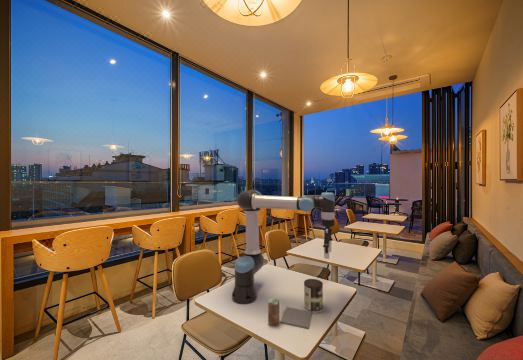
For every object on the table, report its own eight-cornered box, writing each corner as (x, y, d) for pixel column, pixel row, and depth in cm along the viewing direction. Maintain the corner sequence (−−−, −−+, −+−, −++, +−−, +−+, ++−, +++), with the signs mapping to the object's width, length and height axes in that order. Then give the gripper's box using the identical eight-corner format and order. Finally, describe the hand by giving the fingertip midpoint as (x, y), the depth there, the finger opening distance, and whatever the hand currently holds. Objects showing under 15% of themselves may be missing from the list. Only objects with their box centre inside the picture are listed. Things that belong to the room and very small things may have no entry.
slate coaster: (280, 323, 115) (280, 321, 115) (286, 308, 128) (286, 306, 128) (308, 329, 111) (308, 327, 111) (312, 313, 124) (312, 311, 124)
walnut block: (268, 324, 114) (268, 302, 114) (270, 319, 118) (270, 298, 118) (277, 326, 112) (276, 304, 112) (279, 321, 117) (279, 299, 117)
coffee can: (325, 306, 131) (325, 281, 130) (319, 315, 122) (319, 288, 122) (307, 300, 136) (307, 277, 136) (301, 309, 127) (301, 284, 127)
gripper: (332, 223, 123) (332, 262, 123) (336, 216, 146) (336, 249, 146) (318, 222, 125) (318, 260, 126) (323, 215, 149) (323, 248, 149)
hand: (327, 254), depth 136 cm, fingers open, 13 cm apart
